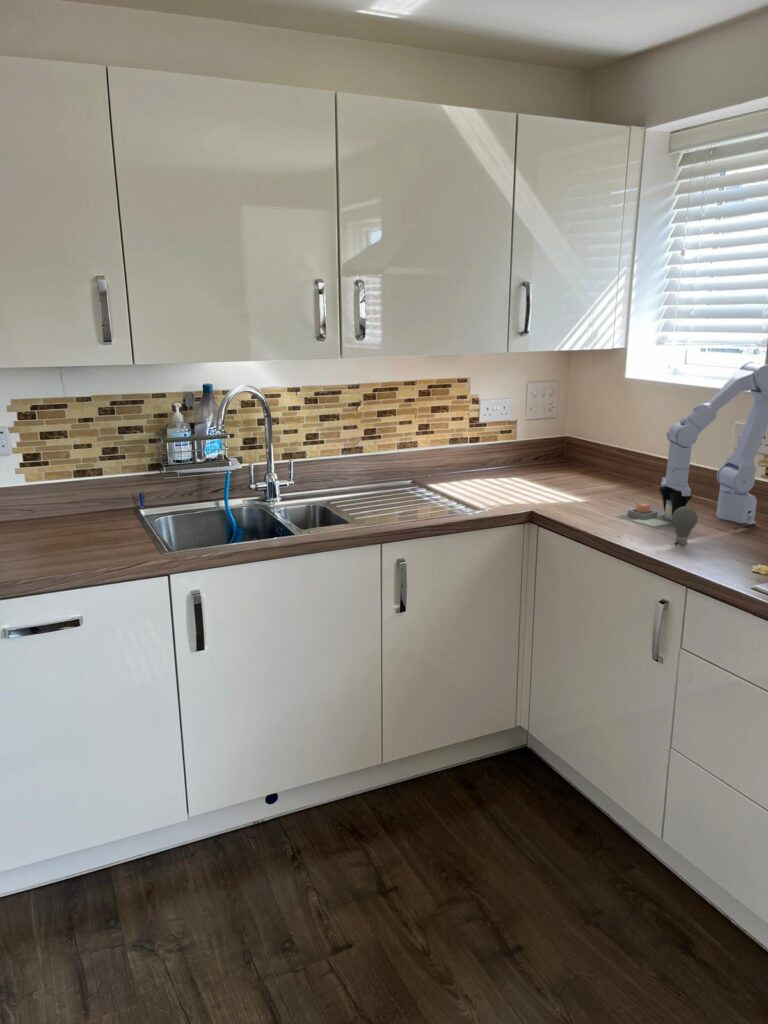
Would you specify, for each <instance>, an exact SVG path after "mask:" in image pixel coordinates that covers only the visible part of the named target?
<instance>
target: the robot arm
mask: <svg viewBox="0 0 768 1024" xmlns="http://www.w3.org/2000/svg"><path fill="white" fill-rule="evenodd" d="M748 391H750V393H751V395H752V396H753V399H754V402H753V404H752V407H751V410H750V412H749V415H748V417H747V420H746V422H745V424H744V426H743V429H742V432H741V434H740V436H739V440H738V442H737V444H736V447H735V449H734V451H733V454H731V455H730V456H729V457H727V458H726V459H725V460H724V463H723V464H722V465H721V467H720V468H718V470H717V473H716V479H717V482H718V483H719V494H718V499H717V500H718V501H717V507H716V508H717V509H716V515H715V517H716V518H717V519H721V520H723V521H724V520H725V521H729V522H730V521H731V522H733V523H738V524H745V525H740V526H739V528H742V527H746V526H750V525H754V524H756V521H755V517H756V512H757V511H756V510H757V497H756V496H755V495H753V494H750V492H749V491H751V490H752V488H753V487H754V486H755V482H756V477H755V476H756V472H757V470H758V469H757V465H756V463H755V458H756V455H757V454H758V451H759V448H760V446H761V444H762V441H763V438H764V437H765V435H766V432H767V429H768V364H766V363H765V364H764V363H756V362H753V361H748V362H746V363H743V365H741V367H740V368H738V369H737V370H736V371H734V373H733V374H732V376H731V378H730V379H729V380H728V381H726V383H725V384H724V385H723V386H722V387H721V388H720V389H719V390H718V391H717V392H716V393H715V394H714V395H713V397H711V398H710V399H709V400H708V401H707V402H704V403H703V402H700V403H699V404H696V405H694V406H693V407H692V409H693V410H692V411H690V412H689V413H688V414H687V415H686V416H685V417H683V418H681V419H680V422H678V423H674V424H673V425H672V426H671V427H670V428H669V429H668V432H666V437H667V440H668V441H669V447H668V456H667V457H668V458H667V465H666V473H665V476H664V477H663V476H662V479H661V483H660V485H661V486H659V487H658V490H659V491H660V495H661V497H662V503H663V504H662V505H663V511H664V512H665V509H666V500H671V502H672V515H673V513H674V511H675V510H677V509H678V508H680V507H687V504H688V502H690V500H691V499H692V497H693V495H692V494H691V493H692V489H691V487H689V484H688V481H689V472H690V464H691V455H692V446H693V445H694V444H696V443H697V441H698V437H699V435H700V433H702V432H703V430H705V429H706V428H707V427H708V426H709V425H710V424H711V423H713V421H715V419H717V415H718V414H717V413H718V411H719V410H721V408H723V407H724V406H725V405H727V404H728V403H729V402H730V401H732V400H733V399H734V398H735V397H736V396H737V395H739V394H740V393H742V392H748Z"/></svg>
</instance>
